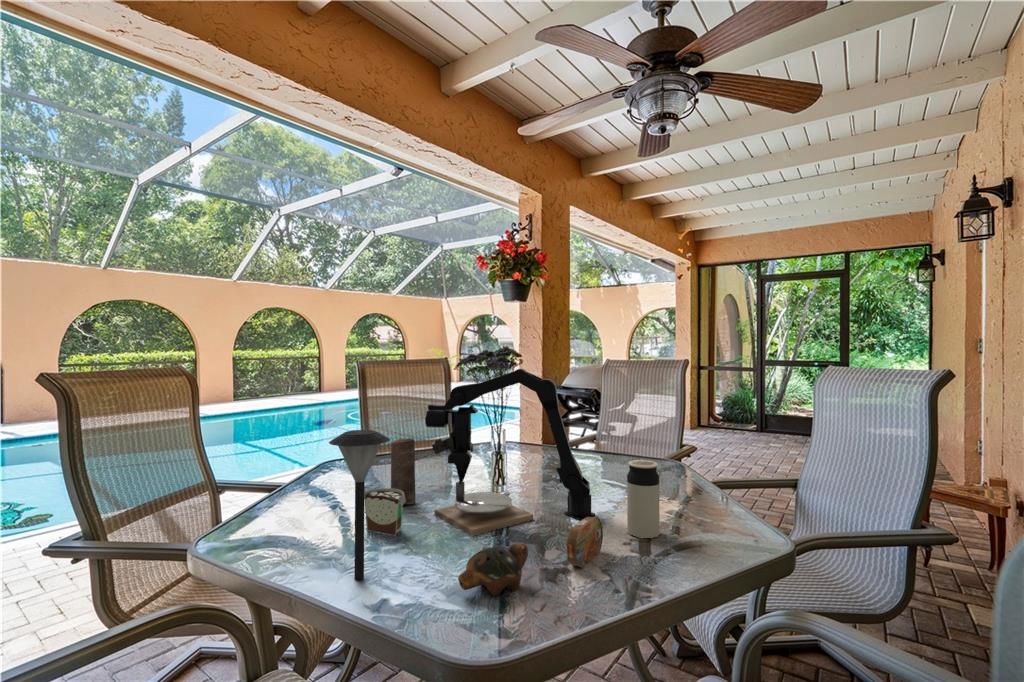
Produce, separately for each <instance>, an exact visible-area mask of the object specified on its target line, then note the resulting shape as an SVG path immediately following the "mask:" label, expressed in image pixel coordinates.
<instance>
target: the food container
mask: <svg viewBox="0 0 1024 682" xmlns="http://www.w3.org/2000/svg"><path fill="white" fill-rule="evenodd" d="M405 502H406V499H405V495H404V492H403V491H401V490H398V489H391V487H390V488H384V487H383V488H374V489H368V490H366V491H364V511H365V522H366V531H367V530H369V531H368V532H370V531H374V532H373V533H376V532H379V533H378V534H381V533H384V534H383V535H386V534H388V535H387V536H391V535H394V536H393V537H397V536H399V535H400V534H401V527H402V517H403V509H404V505H405V504H404V503H405ZM399 533H400V534H399ZM398 534H399V535H398Z"/></svg>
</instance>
